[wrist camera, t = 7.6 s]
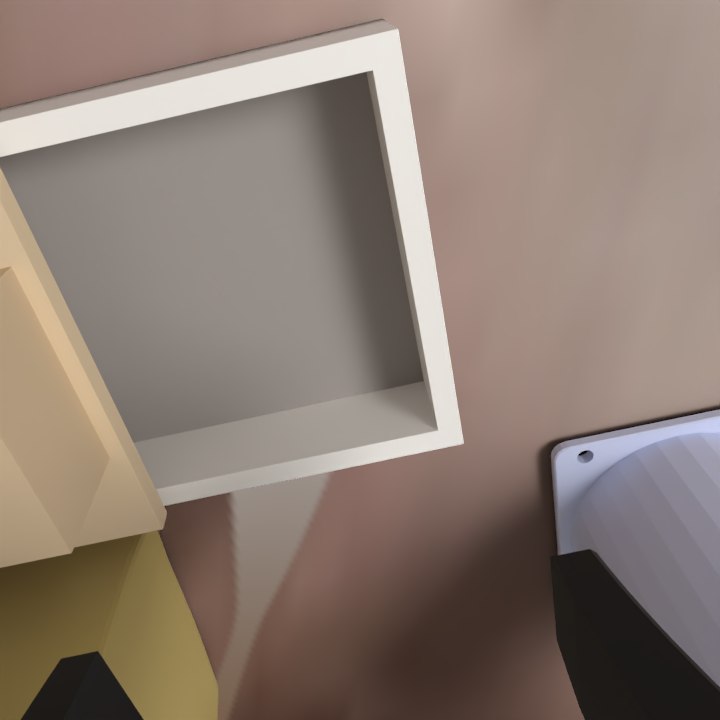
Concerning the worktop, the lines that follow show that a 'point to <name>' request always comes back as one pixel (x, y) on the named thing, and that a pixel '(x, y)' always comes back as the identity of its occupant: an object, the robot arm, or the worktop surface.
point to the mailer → (247, 258)
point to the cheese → (105, 628)
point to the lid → (57, 420)
